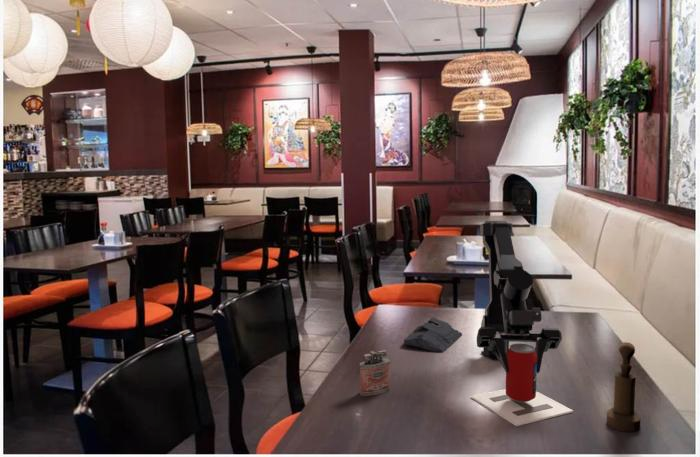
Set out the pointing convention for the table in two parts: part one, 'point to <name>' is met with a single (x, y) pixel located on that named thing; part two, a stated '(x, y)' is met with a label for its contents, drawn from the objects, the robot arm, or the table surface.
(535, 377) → the beverage can
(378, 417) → the table surface
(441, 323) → the dark slate chunk
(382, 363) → the lighter
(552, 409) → the letter mat
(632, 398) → the brown knobbed pedestal
